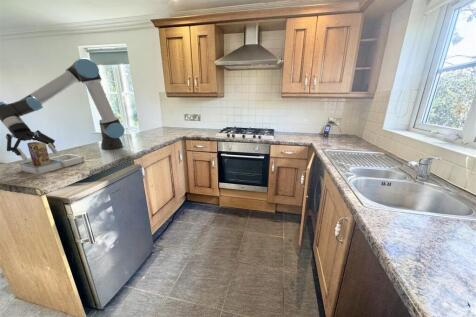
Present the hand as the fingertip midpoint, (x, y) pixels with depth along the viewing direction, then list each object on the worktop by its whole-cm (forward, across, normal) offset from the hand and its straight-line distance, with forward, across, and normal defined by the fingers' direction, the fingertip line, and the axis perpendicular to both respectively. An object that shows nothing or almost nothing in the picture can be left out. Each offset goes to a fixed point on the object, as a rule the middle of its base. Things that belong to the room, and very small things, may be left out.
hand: (41, 155), depth 108 cm
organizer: (+4, -6, -7) cm, 10 cm away
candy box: (+4, 0, -8) cm, 9 cm away
